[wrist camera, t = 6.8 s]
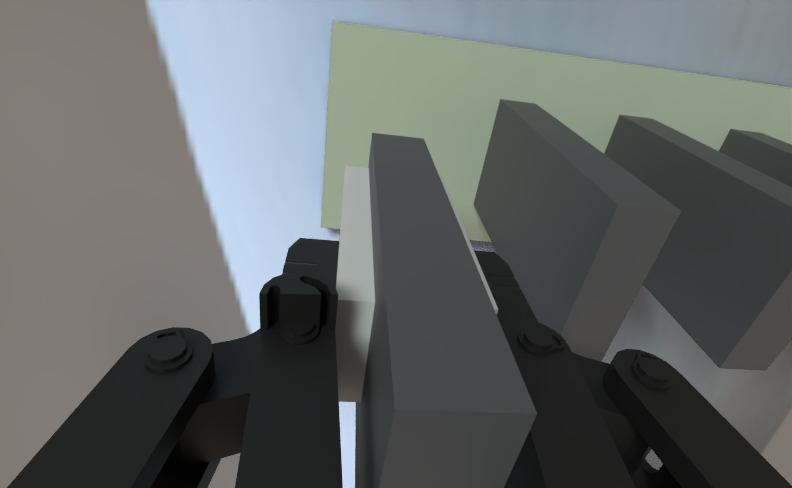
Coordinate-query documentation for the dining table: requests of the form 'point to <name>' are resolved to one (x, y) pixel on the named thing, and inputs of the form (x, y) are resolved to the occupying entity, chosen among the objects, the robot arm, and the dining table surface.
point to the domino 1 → (432, 343)
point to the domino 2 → (568, 225)
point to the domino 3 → (716, 243)
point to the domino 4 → (760, 153)
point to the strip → (510, 80)
